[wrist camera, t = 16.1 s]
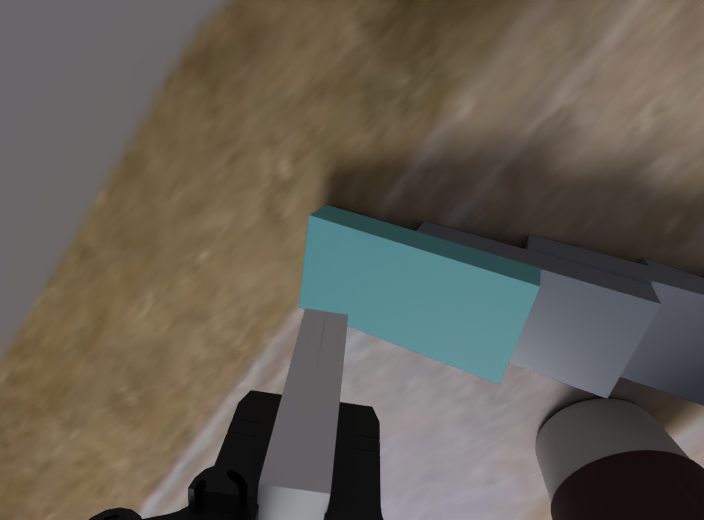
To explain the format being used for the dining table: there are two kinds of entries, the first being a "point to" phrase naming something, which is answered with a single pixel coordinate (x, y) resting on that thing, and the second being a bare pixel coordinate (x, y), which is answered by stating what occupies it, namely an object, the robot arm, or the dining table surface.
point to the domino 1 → (418, 290)
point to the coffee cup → (616, 465)
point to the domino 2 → (572, 316)
